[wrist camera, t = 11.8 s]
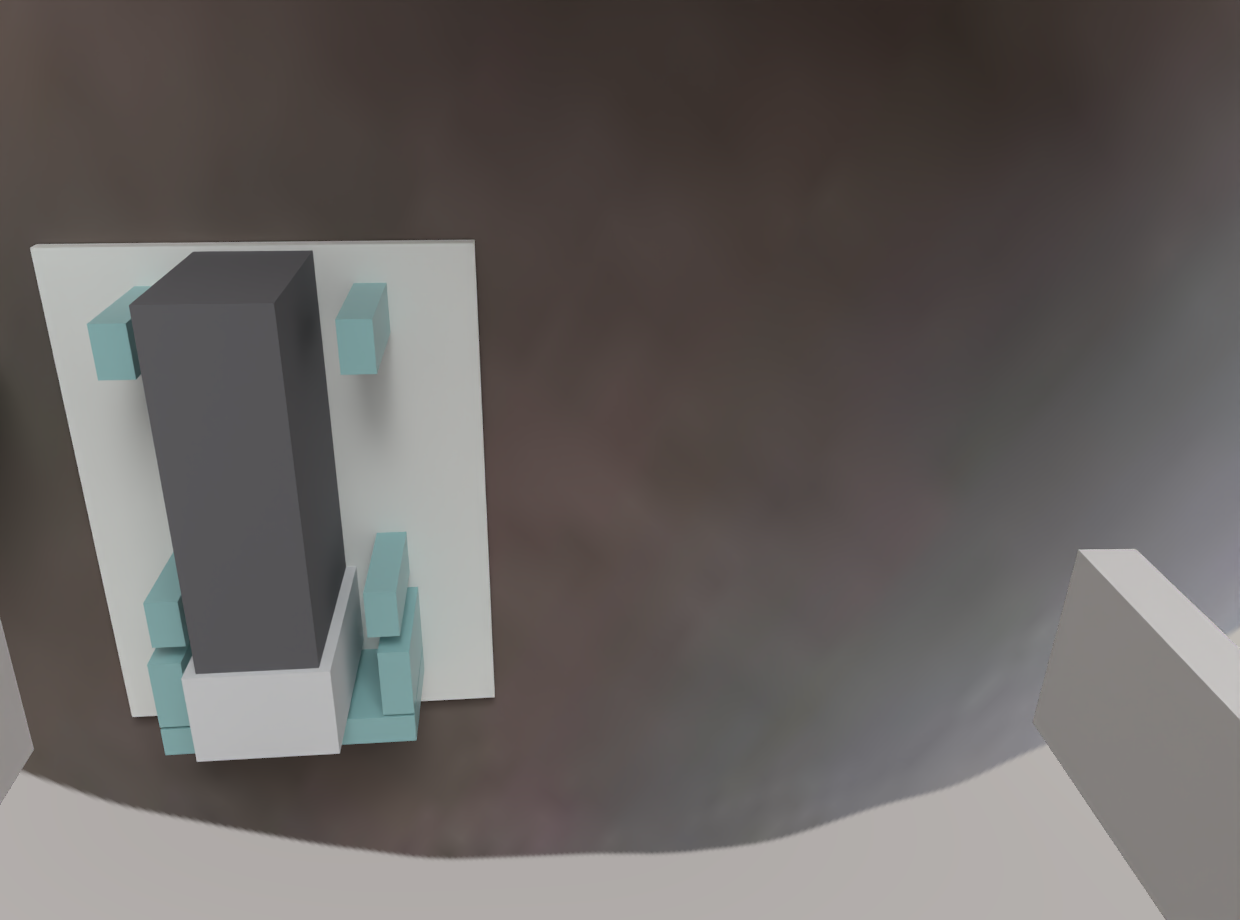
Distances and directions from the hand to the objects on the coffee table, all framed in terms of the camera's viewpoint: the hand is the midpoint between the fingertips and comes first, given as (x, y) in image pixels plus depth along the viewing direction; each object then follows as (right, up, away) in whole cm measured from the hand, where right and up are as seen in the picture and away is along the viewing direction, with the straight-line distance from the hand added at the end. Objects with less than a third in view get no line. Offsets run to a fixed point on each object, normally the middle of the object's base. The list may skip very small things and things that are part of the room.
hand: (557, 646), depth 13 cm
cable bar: (-10, +2, +21) cm, 24 cm away
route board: (-10, +1, +22) cm, 25 cm away
